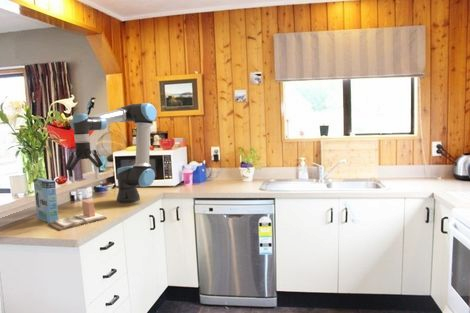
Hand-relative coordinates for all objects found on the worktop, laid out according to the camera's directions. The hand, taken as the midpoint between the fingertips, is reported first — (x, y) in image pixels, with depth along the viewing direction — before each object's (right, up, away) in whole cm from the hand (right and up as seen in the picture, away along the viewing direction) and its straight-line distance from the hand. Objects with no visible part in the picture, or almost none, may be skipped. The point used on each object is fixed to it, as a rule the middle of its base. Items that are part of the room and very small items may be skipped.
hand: (85, 180), depth 201 cm
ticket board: (-3, -22, -2) cm, 23 cm away
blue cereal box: (-23, -23, +5) cm, 33 cm away
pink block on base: (+1, -21, +2) cm, 21 cm away
